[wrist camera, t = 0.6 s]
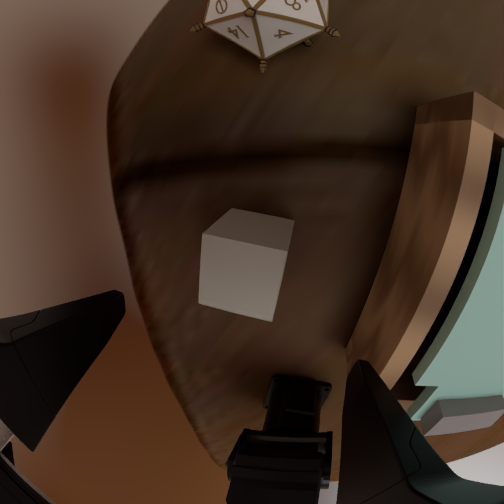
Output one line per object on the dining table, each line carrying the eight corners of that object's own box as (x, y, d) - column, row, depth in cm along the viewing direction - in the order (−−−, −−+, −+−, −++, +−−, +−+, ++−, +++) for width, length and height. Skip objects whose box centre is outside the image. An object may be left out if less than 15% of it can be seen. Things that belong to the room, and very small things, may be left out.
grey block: (283, 276, 22) (271, 321, 16) (225, 264, 22) (198, 303, 17) (294, 220, 20) (287, 251, 14) (232, 207, 20) (202, 233, 15)
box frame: (479, 362, 21) (501, 411, 13) (345, 348, 23) (349, 418, 16) (554, 186, 12) (604, 209, 5) (417, 106, 14) (473, 91, 7)
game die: (290, 61, 18) (267, 118, 13) (205, 10, 15) (137, 45, 10) (363, -4, 11) (390, 12, 6) (267, -65, 8) (220, -90, 3)
